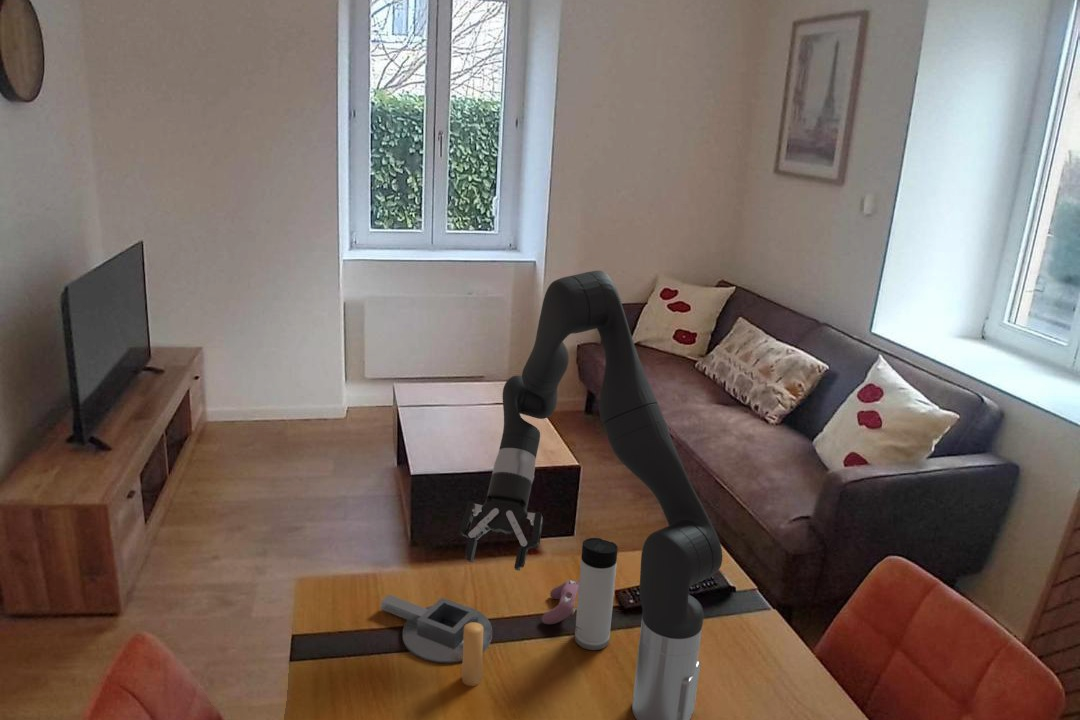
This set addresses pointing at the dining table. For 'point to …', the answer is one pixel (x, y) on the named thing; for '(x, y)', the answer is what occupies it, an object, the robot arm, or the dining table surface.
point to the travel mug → (595, 593)
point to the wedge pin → (472, 654)
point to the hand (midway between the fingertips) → (493, 565)
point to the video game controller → (562, 602)
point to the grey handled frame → (436, 628)
